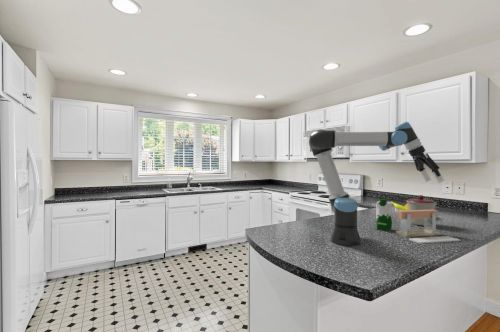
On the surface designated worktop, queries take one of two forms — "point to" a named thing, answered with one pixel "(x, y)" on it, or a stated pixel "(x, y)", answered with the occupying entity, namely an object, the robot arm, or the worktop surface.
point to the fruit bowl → (400, 207)
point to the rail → (417, 214)
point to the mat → (433, 239)
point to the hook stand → (428, 230)
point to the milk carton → (384, 215)
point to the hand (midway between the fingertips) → (434, 181)
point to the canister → (420, 207)
